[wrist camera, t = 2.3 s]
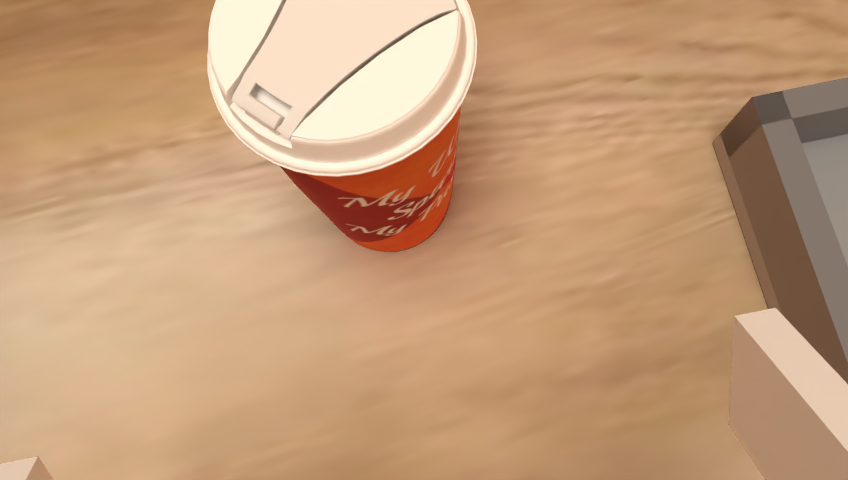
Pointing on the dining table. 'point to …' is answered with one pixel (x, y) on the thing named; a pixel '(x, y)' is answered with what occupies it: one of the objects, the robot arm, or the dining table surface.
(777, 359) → the robot arm
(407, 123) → the paper cup
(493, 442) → the dining table surface
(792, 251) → the cup holder
